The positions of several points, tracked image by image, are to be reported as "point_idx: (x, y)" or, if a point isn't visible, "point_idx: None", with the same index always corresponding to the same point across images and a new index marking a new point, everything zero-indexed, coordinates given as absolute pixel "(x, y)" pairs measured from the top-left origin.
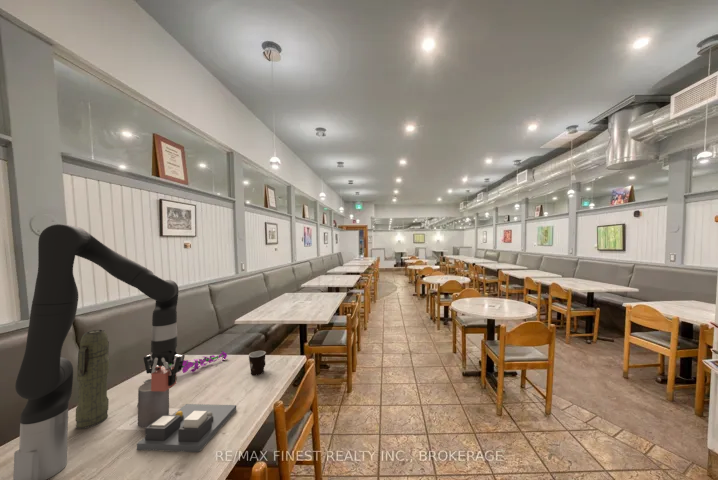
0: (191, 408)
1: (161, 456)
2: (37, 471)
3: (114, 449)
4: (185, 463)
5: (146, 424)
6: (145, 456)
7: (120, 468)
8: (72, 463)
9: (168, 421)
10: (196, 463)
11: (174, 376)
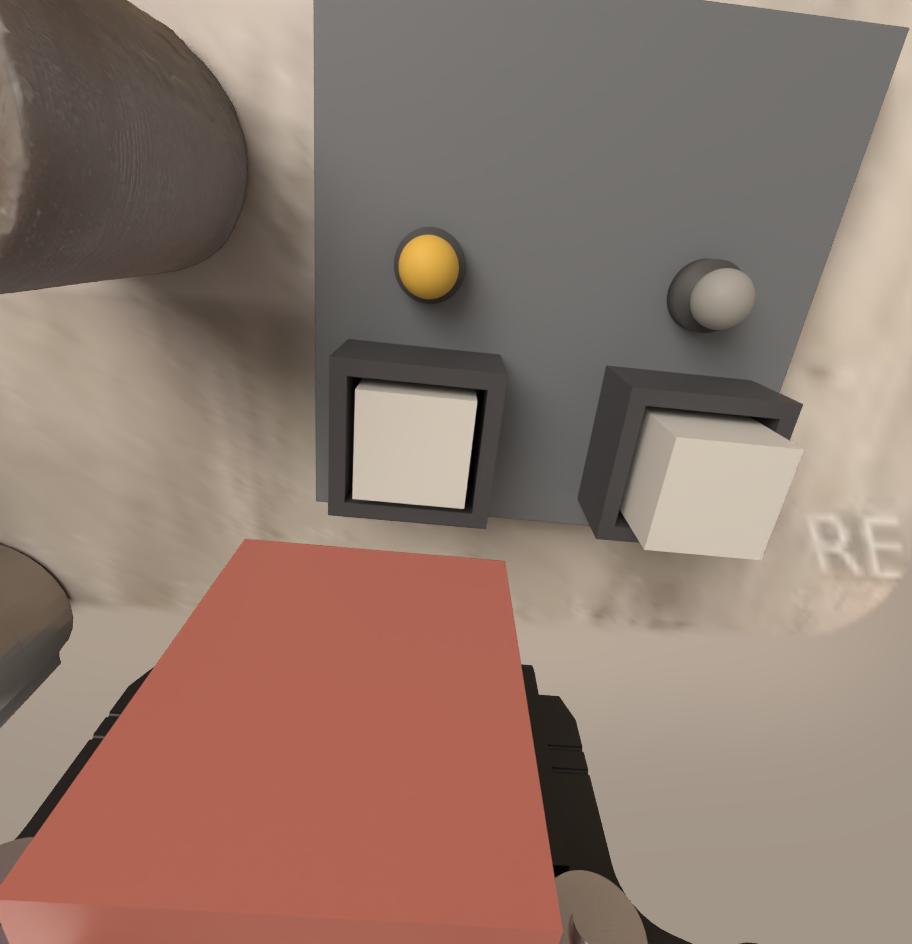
0: (436, 66)
1: (512, 536)
2: (18, 695)
3: (182, 475)
4: (670, 582)
5: (169, 270)
6: (421, 532)
7: None
8: (62, 555)
9: (464, 466)
10: (727, 585)
11: (589, 841)
